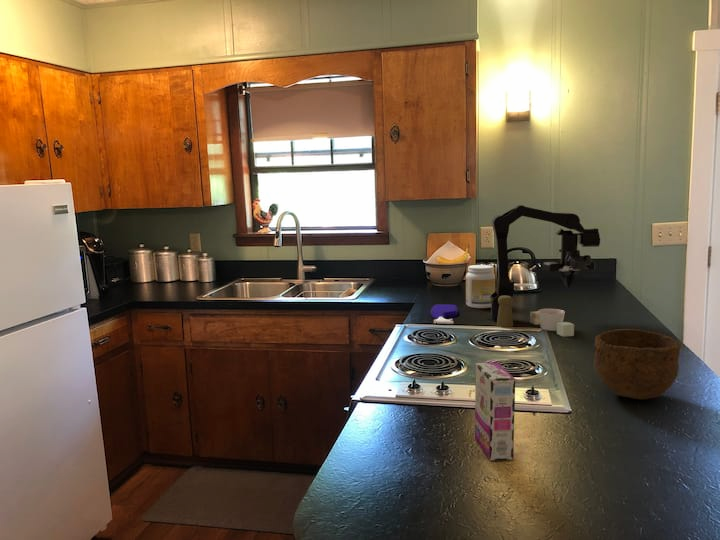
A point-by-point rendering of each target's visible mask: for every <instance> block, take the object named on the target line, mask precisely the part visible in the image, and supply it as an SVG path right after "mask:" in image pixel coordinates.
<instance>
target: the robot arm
mask: <svg viewBox="0 0 720 540" xmlns="http://www.w3.org/2000/svg"><path fill="white" fill-rule="evenodd" d="M521 217H526V218H529V219H530V218H531V219H535V220H540V221H544V222H548V223H553V224H555V225H557V226H560V228H559V230H558V231H556V232H555V234H556V235H557V236H561V240H560V241H561V245H560V249H558V252H559V253H560V259H558V262H555V261H545V262H543V264H542V271H543V270H544V271H546V272H551V273H552V272H558V273H559V275H560V277H561V279H562V281H563V284H564V286H565V289H567V290H568V289H569V290H570V288H571V286H572V284H573V281H574V280H575V278H576V275H577V274H579V273H581V272H582V270H586V269H587V270H595V269H596V264H595V261H593V260H592V257H591V255H590V254H589V255H588V254H585V255H581V252H580V251H581V250H578V248H579V247H578V245H580V246H581V247H582V248H594V247H595V248H596V247H597V248H598V247H600V245H601V236H600V232H599V228H597V227H596V228H584V226H583V225H582V224H581V219H580V217H579V216H578V214H577V213H576V214H575V213H571V212H553V211H548V210H543V209H537V208H534V207H529V206H525V205H523V204H518V205H516V206H515V207H513V208H512V209H510V210H508V211H506V212H504V213H503V214H498V215H497V214H496V215H495V216H494V217H493V218H492V219H491V226H492V231H493V235H494V237H495V242H496V243H495V244H496V245H495V246H496V258H497V259H496V260H497V278H496V279H497V280H496V283H495V292H494V293H493V294H492V295H491V296H490V298H491V301H492V302H491V307H490V312H491V313H490V316H487V319H489V320H491V321H493V322H497V319H498V312H499V303H498V298H499V297H500V296H504V295H506V296H511V297H512V298H513V297H514V294H515V293H516V291H515V281H514V280H513V279H512V278H511V279H510V274H509V272H510V271H509V270H510V269H509V257H508V256H509V255H508V237H509V230H510V225H512V224H513V223H514V222H516V221H517V220H519V219H520V218H521ZM561 227H563V228H566V229H567V230H564V229H563V228H561ZM572 230H573V231H572ZM574 231H576V232H574Z"/></svg>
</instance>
